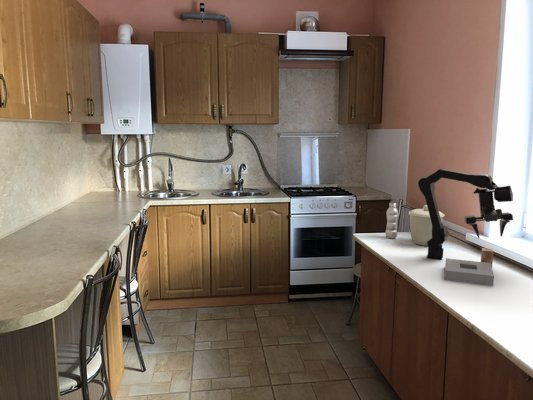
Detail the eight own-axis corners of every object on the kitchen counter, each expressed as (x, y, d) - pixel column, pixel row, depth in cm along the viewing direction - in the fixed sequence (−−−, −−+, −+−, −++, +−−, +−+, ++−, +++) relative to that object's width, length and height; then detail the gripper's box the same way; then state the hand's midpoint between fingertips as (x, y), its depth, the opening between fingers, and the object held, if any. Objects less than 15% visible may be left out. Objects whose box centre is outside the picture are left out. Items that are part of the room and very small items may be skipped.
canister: (412, 237, 250) (415, 201, 246) (446, 242, 239) (449, 204, 236) (402, 244, 235) (404, 205, 232) (437, 250, 225) (440, 209, 221)
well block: (444, 279, 182) (445, 270, 181) (445, 266, 198) (445, 258, 198) (493, 285, 175) (494, 276, 174) (489, 271, 192) (490, 263, 191)
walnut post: (480, 267, 197) (482, 250, 196) (480, 264, 201) (481, 248, 200) (491, 269, 195) (493, 251, 194) (491, 266, 199) (492, 249, 198)
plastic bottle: (391, 240, 244) (392, 204, 241) (382, 237, 250) (384, 202, 247) (399, 238, 247) (401, 203, 244) (391, 236, 253) (393, 201, 250)
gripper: (466, 207, 190) (470, 242, 191) (514, 202, 185) (518, 238, 186) (462, 204, 201) (466, 237, 202) (508, 199, 196) (511, 234, 197)
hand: (489, 237), depth 196 cm, fingers open, 9 cm apart
